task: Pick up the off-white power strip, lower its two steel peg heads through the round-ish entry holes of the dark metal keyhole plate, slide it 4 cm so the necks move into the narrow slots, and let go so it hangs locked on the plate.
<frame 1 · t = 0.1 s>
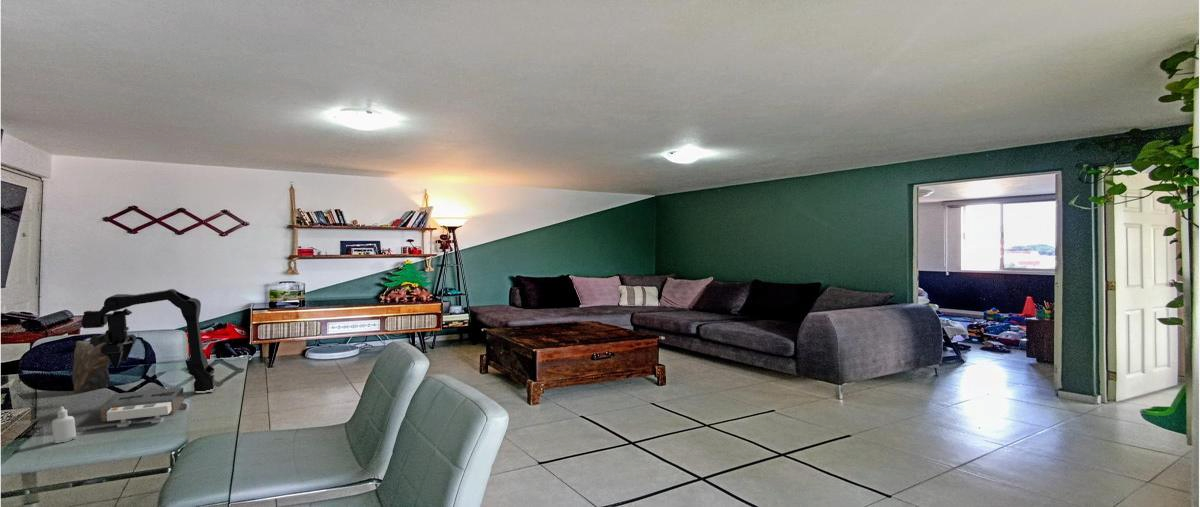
hand: (120, 364, 235), 15 cm above the table, tool pointing down, fingers open, 9 cm apart
power strip: (140, 423, 214), on the table
eye dropper bottle: (65, 441, 199), on the table
brown paper bag: (87, 389, 248), on the table
keyhole board: (144, 411, 225), on the table
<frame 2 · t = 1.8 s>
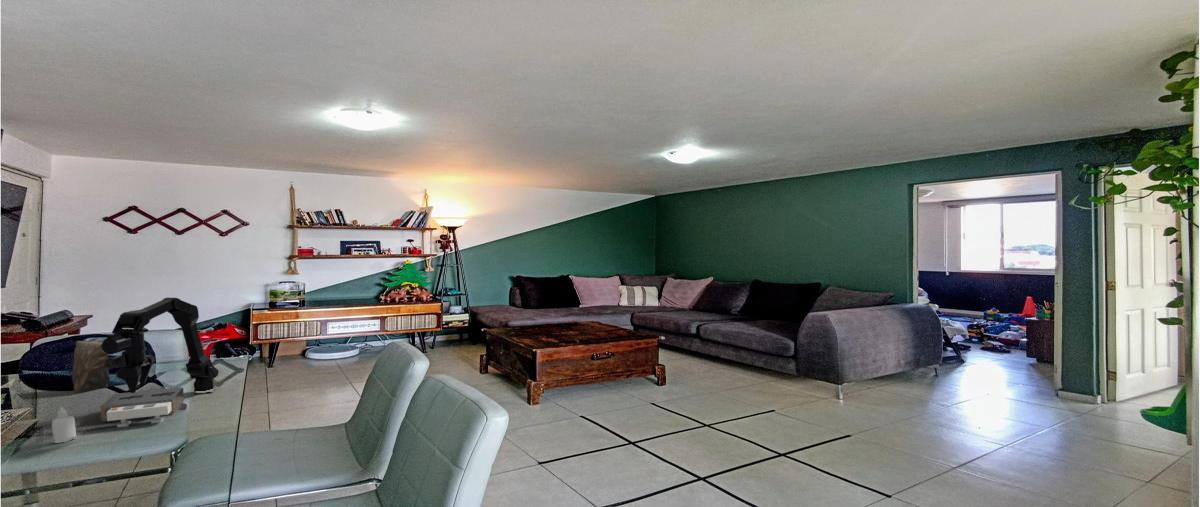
hand: (137, 388, 212), 13 cm above the table, tool pointing down, fingers open, 9 cm apart
nothing on the table moved.
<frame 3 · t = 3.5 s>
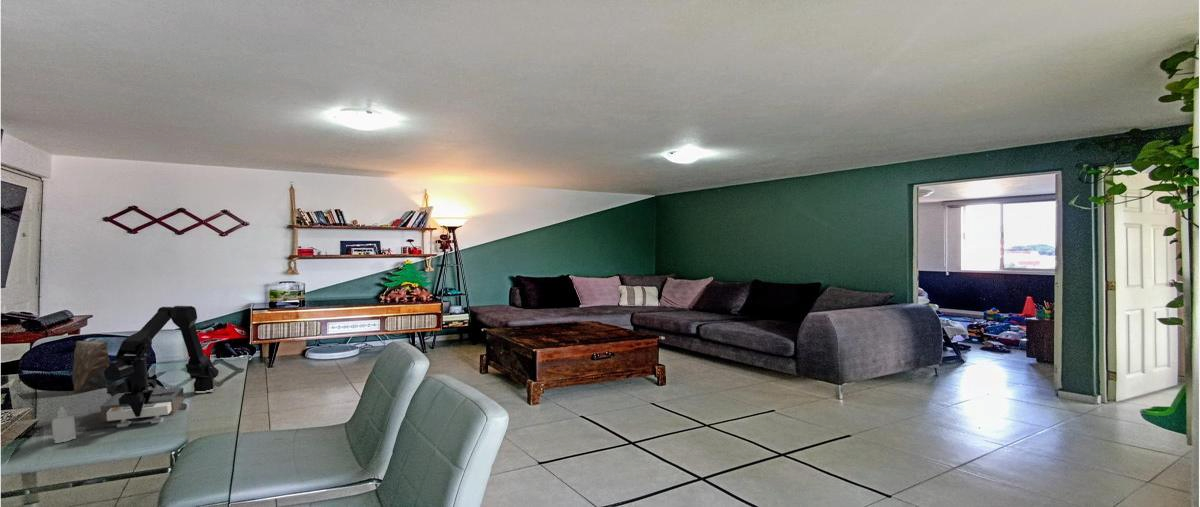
hand: (140, 414, 213), 3 cm above the table, tool pointing down, fingers closed on power strip, 4 cm apart
power strip: (140, 423, 214), on the table, touching gripper
everything else where it was.
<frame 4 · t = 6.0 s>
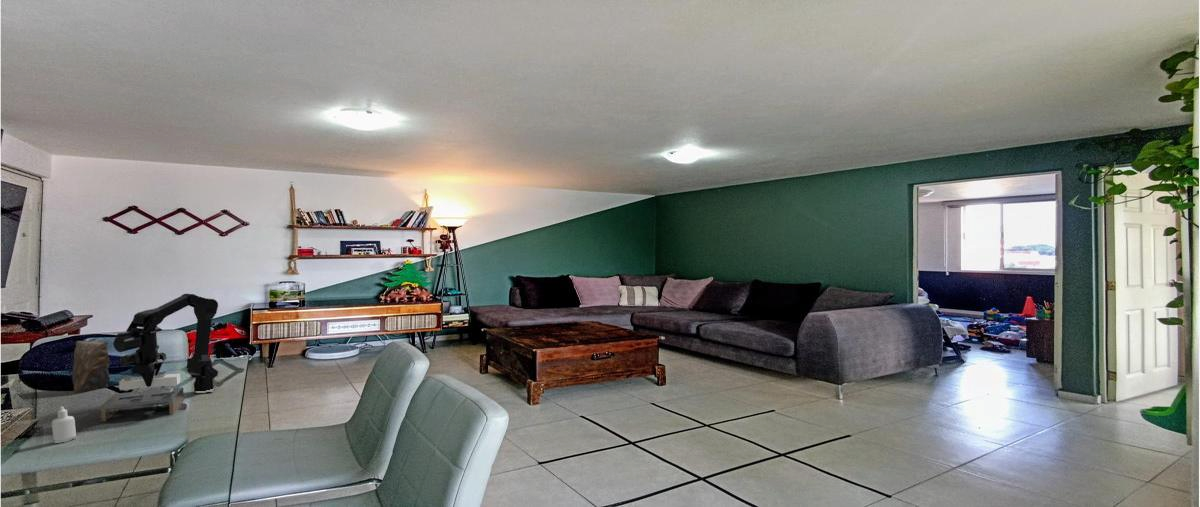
hand: (150, 384, 225), 10 cm above the table, tool pointing down, fingers closed on power strip, 4 cm apart
power strip: (151, 393, 225), point 7 cm above the table, touching gripper
everything else where it was.
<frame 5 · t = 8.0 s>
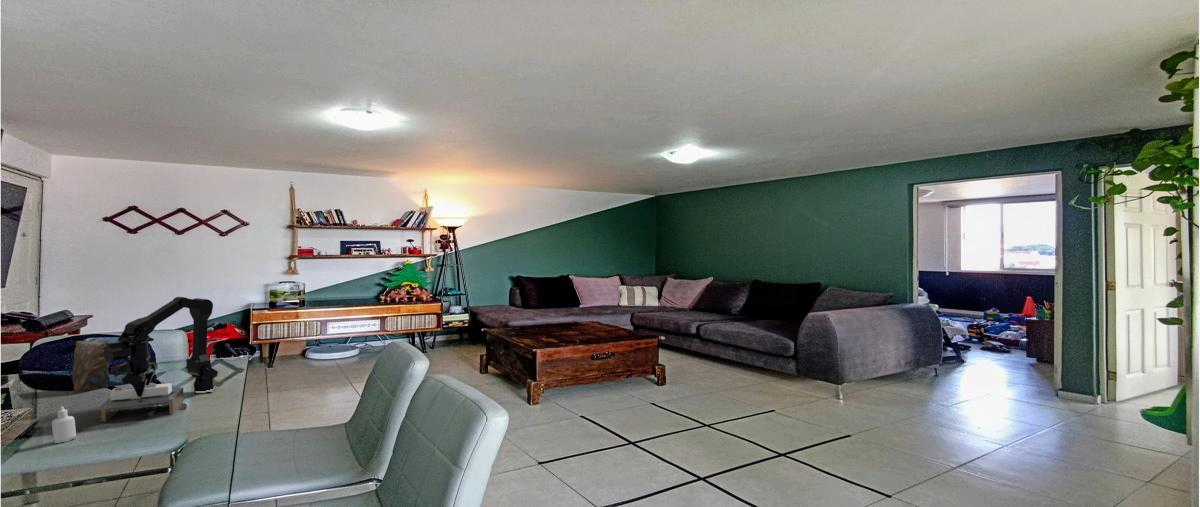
hand: (142, 394, 224), 7 cm above the table, tool pointing down, fingers closed on power strip, 4 cm apart
power strip: (142, 403, 224), point 3 cm above the table, touching gripper
everything else where it was.
when the fingers open (6 cm above the table, at t = 9.1 s): power strip stays where it is, resting on keyhole board.
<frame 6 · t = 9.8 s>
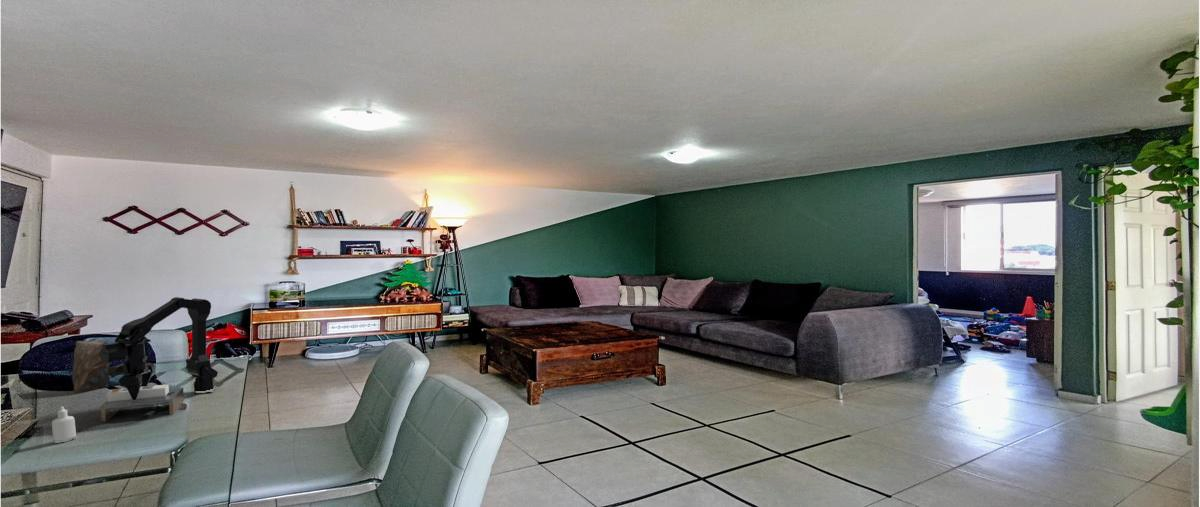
hand: (138, 395, 223), 7 cm above the table, tool pointing down, fingers open, 9 cm apart
power strip: (139, 404, 224), point 3 cm above the table, touching keyhole board
everything else where it was.
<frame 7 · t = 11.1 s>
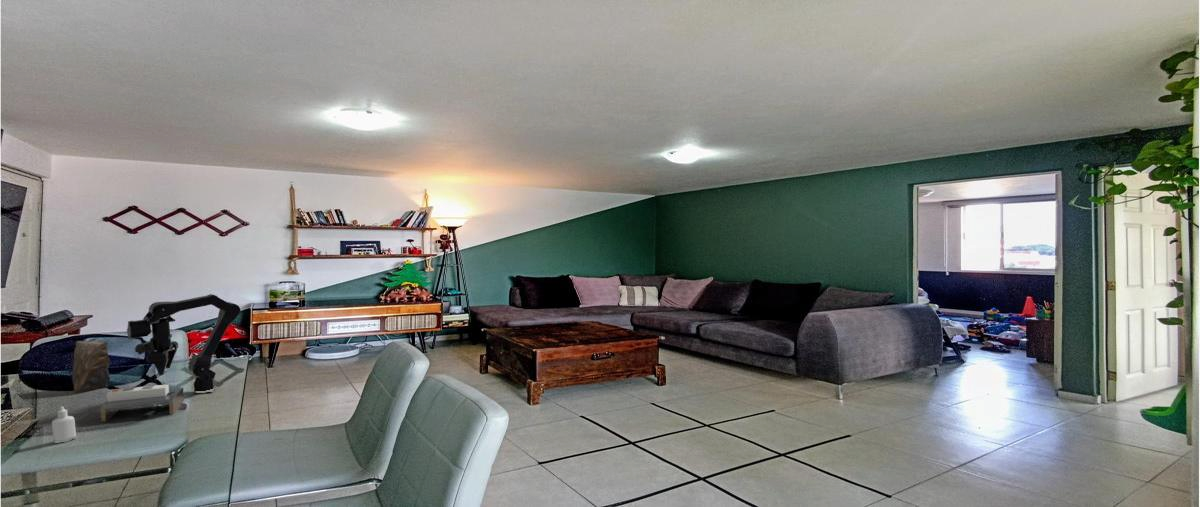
hand: (164, 371, 236), 12 cm above the table, tool pointing down, fingers open, 9 cm apart
nothing on the table moved.
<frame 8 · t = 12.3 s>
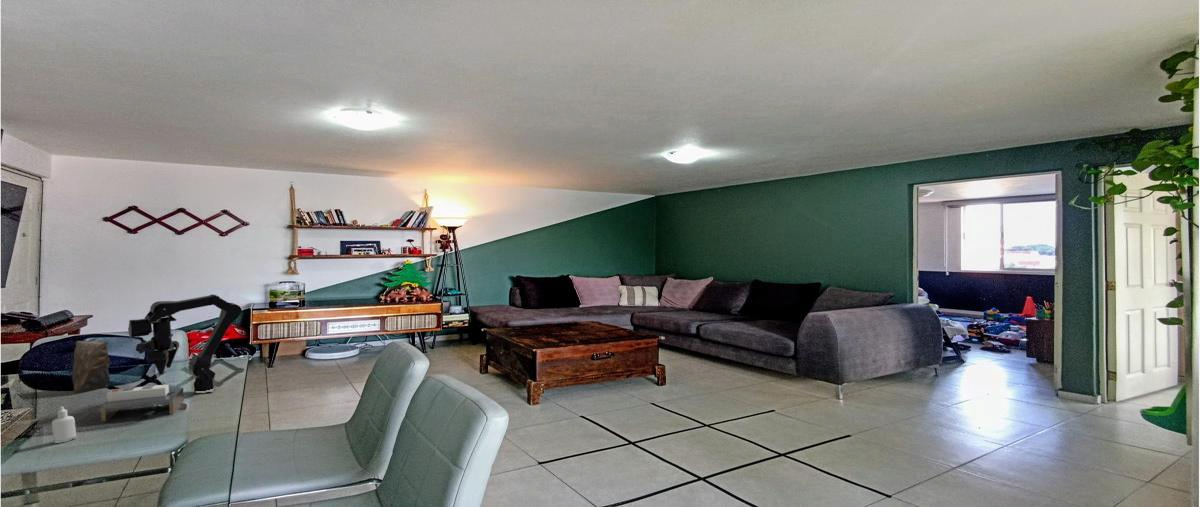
hand: (164, 370, 236), 12 cm above the table, tool pointing down, fingers open, 9 cm apart
nothing on the table moved.
at the end: power strip 0.1 cm from the target spot on the keyhole board, point 3.0 cm above the keyhole board's base; the gripper is holding nothing; power strip tilted 0° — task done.
